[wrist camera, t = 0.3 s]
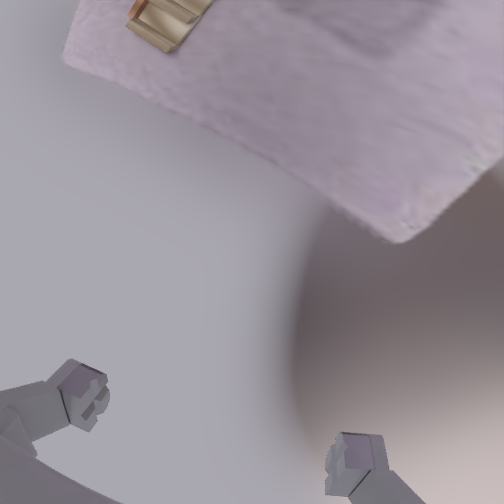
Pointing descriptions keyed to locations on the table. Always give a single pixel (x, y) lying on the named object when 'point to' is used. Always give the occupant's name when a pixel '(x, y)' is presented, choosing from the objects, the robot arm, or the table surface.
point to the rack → (166, 20)
